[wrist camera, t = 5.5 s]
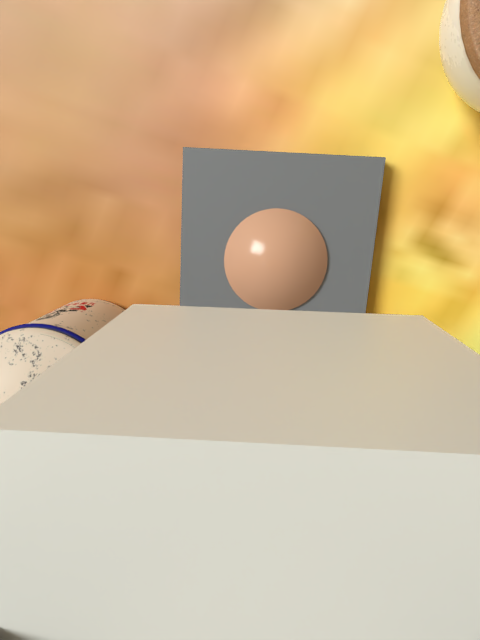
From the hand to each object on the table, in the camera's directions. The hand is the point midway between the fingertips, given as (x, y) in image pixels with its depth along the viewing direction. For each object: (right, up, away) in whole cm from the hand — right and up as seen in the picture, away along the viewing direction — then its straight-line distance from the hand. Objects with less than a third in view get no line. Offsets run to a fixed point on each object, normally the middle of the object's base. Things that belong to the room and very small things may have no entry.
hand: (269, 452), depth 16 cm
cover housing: (0, 0, +1) cm, 1 cm away
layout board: (+1, +1, +18) cm, 18 cm away
